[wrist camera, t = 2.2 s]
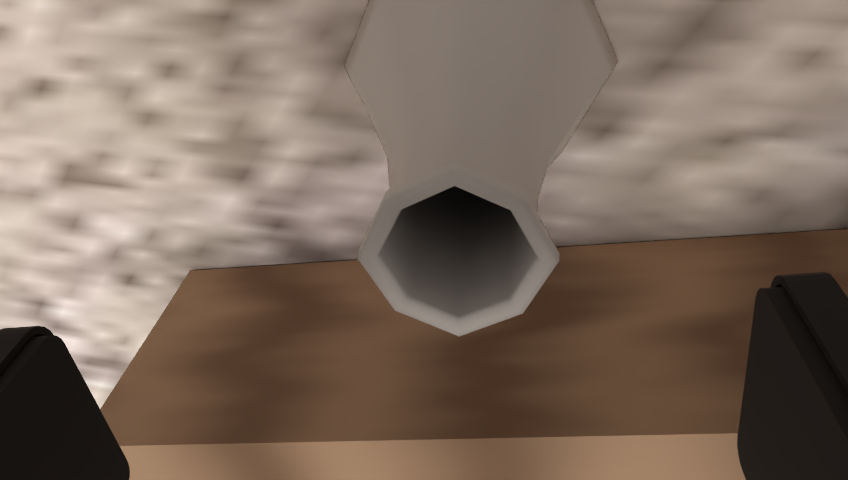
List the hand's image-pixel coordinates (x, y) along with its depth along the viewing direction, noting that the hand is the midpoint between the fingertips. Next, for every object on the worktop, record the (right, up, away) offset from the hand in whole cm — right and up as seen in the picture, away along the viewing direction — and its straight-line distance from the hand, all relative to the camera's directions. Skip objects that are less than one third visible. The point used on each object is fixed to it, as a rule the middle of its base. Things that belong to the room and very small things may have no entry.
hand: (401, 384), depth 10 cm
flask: (+2, +7, +11) cm, 13 cm away
